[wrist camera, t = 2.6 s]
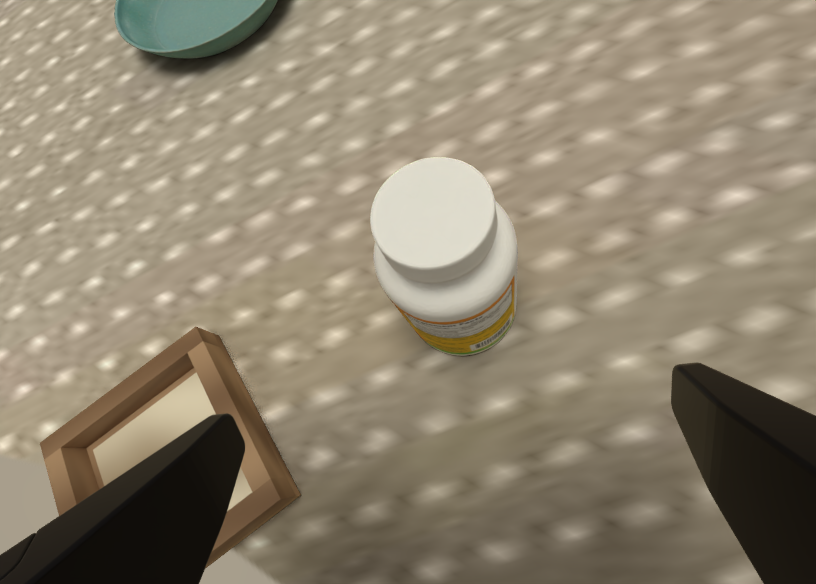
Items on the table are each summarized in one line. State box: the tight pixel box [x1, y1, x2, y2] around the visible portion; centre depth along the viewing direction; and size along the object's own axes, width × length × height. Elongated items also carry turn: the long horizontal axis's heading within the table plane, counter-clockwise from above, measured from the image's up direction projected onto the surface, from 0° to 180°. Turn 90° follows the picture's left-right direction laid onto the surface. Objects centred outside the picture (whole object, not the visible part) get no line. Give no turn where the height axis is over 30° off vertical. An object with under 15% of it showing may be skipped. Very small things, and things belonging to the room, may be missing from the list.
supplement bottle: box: [370, 157, 518, 356], centre depth 18 cm, size 5×5×10 cm
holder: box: [40, 327, 301, 568], centre depth 22 cm, size 10×10×2 cm
